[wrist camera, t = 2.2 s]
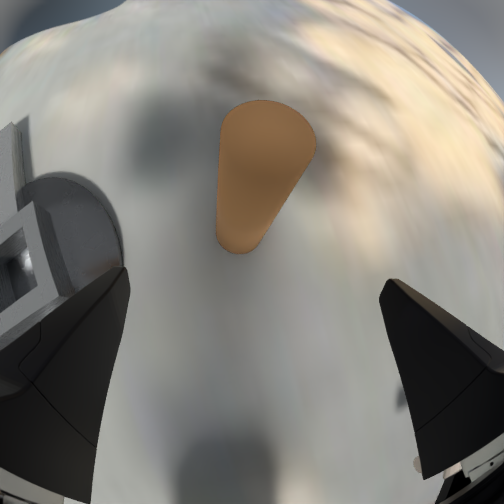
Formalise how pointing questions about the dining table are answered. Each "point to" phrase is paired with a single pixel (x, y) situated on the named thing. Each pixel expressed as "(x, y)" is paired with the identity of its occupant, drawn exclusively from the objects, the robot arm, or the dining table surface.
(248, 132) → the pin
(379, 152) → the dining table surface
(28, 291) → the rosette plate
